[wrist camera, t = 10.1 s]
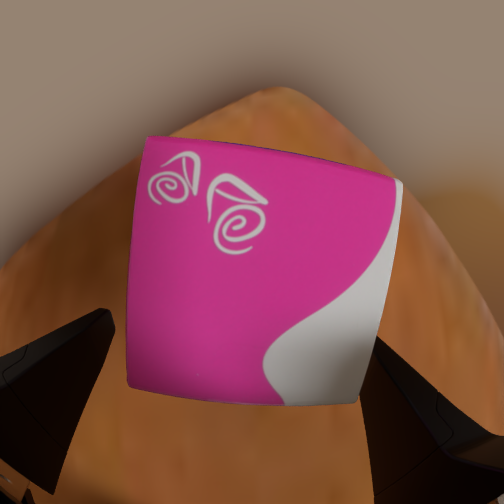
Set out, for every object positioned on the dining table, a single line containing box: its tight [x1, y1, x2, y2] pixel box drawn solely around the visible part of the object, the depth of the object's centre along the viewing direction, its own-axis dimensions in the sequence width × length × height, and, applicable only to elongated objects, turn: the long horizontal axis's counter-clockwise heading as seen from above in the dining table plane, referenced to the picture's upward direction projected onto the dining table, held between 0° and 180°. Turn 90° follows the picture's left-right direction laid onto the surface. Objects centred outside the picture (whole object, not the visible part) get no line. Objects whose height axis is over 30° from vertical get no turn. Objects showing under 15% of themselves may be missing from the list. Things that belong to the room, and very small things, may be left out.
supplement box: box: [126, 136, 403, 406], centre depth 11 cm, size 6×6×12 cm
